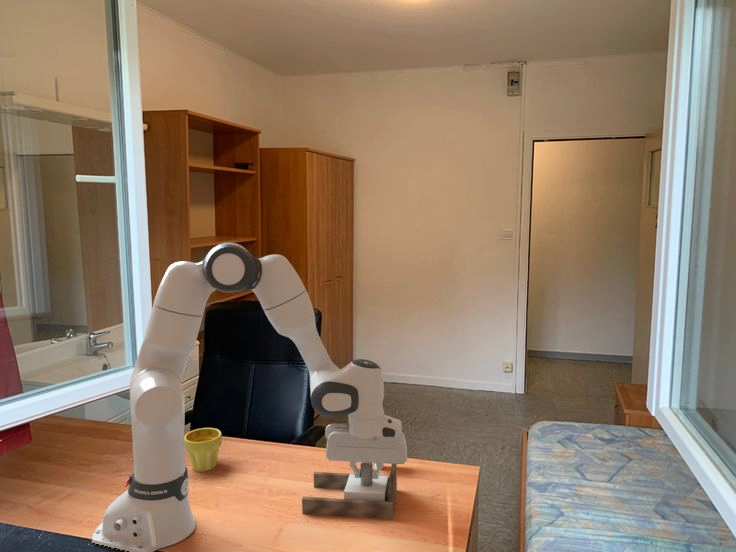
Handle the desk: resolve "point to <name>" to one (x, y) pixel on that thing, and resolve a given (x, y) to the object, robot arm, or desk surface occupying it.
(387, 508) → the bay
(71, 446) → the desk surface
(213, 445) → the plant pot
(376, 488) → the white box with knob
